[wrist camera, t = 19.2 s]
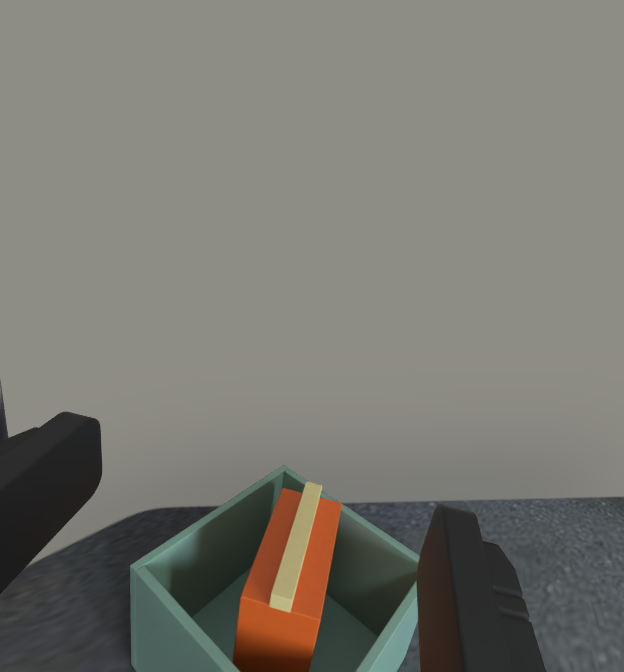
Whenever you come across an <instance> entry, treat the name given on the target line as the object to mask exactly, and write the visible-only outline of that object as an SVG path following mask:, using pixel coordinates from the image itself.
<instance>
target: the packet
mask: <svg viewBox="0 0 624 672" xmlns="http://www.w3.org/2000/svg"><path fill="white" fill-rule="evenodd" d="M321 489H322V485H318V484H314V483H311V482H306V484H305V487H304V490H303V493H301V492H297V491H293V490H289V489H285V488H282V490H281V493H280V495H279V498H278V501H277V503H276V506H275V508H274V511H273V513H272V516H271V519H270V521H269V524H268V526H267V529H266V532H265V534H264V537H263V539H262V542H261V545H260V547H259V550H258V552H257V555H256V557H255V560H254V563H253V565H252V568H251V570H250V573H249V576H248V578H247V581H246V583H245V586H244V589H243V591H242V594H241V596H240V604H239V612H238V621H237V629H236V637H235V645H234V653H233V662H232V663H233V664H234V665H235V666H236V668H237V669H238V670H239V671H240V672H309V669H310V665H311V660H312V656H313V652H314V647H315V643H316V638H317V634H318V629H319V625H320V621H321V615H322V610H323V604H324V599H325V594H326V588H327V583H328V577H329V572H330V566H331V561H332V556H333V550H334V545H335V539H336V534H337V528H338V523H339V517H340V512H341V507H342V503H339V502H335V501H331V500H328V499H324V498H320V495H321Z"/></svg>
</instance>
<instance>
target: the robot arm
mask: <svg viewBox="0 0 624 672" xmlns="http://www.w3.org/2000/svg"><path fill="white" fill-rule="evenodd" d="M101 476H102V454H101V431H100V424H99V421H98V420H97V419H95V418H91V417H87V416H83V415H78V414H74V413H70V412H62V413H60V414H58V415H56V416H55V417H54V418H52V419H51V420H49V421H48V422H47V423H45V424H44V425H43V426H41V427H40V428H37V427H35V428H32V429H30V430H27V431H25V432H22V433H20V434H17V435H15V436H12V437H10V438H8V432H7V425H6V418H5V411H4V403H3V396H2V388H1V381H0V593H1V592H2V591H3V590H4V589H5V588H6V587H7V586H8V585H9V584H10V583H11V582H12V581H13V580H14V579H15V577H16V576H17V575H18V574H19V573H20V572H21V571H22V570H23V569H24V568H25V567H26V566H27V565H28V564H29V563H30V562H31V560H32V559H33V558H34V557H35V556H36V555H37V554H38V553H39V552H40V551H41V550H42V549H43V548H44V547H45V546H46V545H47V543H48V542H49V541H50V540H51V539H52V538H53V537H54V536H55V535H56V534H57V533H58V532H59V531H60V530H61V529H62V528H63V527H64V525H65V524H66V523H67V522H68V521H69V520H70V519H71V518H72V517H73V516H74V515H75V514H76V513H77V512H78V511H79V510H80V509H81V508H82V506H83V505H84V504H85V503H86V502H87V501H88V500H89V499H90V498H91V497H92V496H93V494H94V493H95V491H96V489H97V487H98V485H99V483H100V480H101ZM416 587H417V607H418V626H419V646H420V665H421V672H546V670H545V667H544V663H543V660H542V657H541V653H540V650H539V647H538V644H537V640H536V637H535V634H534V630H533V627H532V624H531V622H529V614H528V611H527V607H526V604H525V601H524V599H522V595H523V594H522V591H521V588H520V584H519V581H518V578H517V574H516V571H515V568H514V567H513V565H512V564H511V563H510V561H509V560H508V558H507V557H506V556H505V554H504V553H503V551H502V550H501V548H500V547H499V546H498V545H497V544H493V543H489V542H485V541H482V537H481V533H480V529H479V525H478V520H477V517H476V515H475V513H473V512H470V511H466V510H462V509H458V508H454V507H450V506H446V505H441V504H438V505H437V507H436V509H435V511H434V514H433V517H432V520H431V523H430V526H429V529H428V532H427V535H426V538H425V541H424V544H423V547H422V550H421V554H420V557H419V562H418V568H417V580H416Z"/></svg>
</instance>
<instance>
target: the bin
mask: <svg viewBox="0 0 624 672" xmlns="http://www.w3.org/2000/svg"><path fill="white" fill-rule="evenodd" d="M306 482H308V481H307V480H306V479H304V478H302V477H301V476H299V475H298V474H297V473H295V472H294V471H292V470H291V469H289V468H288V467H286V466H285V465H283V466H281V467H280V468H278V469H277V470H275V471H273V472H272V473H270V474H269V475H268V476H266V477H265V478H263V479H261V480H260V481H258V482H257V483H255V484H254V485H252V486H250V487H249V488H247V489H246V490H244V491H243V492H241V493H240V494H238V495H237V496H235V497H234V498H232V499H231V500H229V501H228V502H226V503H224V504H223V505H221V506H220V507H218V508H217V509H215V510H214V511H212V512H211V513H209V514H208V515H206V516H205V517H203V518H202V519H200V520H198V521H197V522H195V523H194V524H192V525H191V526H189V527H188V528H186V529H185V530H183V531H182V532H180V533H179V534H177V535H176V536H174V537H172V538H171V539H169V540H168V541H166V542H165V543H163V544H162V545H160V546H159V547H157V548H156V549H154V550H153V551H151V552H150V553H148V554H146V555H145V556H143V557H142V558H140V559H139V560H137V561H136V562H134V563H133V564H131V565H130V599H131V665H132V666H133V668H134V669H135V670H136V672H240V671H239V670H238V669H237V668H236V666H235V665H234V664H233V663H232V662H233V653H234V645H235V637H236V629H237V621H238V612H239V604H240V596H241V594H242V591H243V589H244V586H245V583H246V581H247V578H248V576H249V573H250V570H251V568H252V565H253V563H254V560H255V557H256V555H257V552H258V550H259V547H260V545H261V542H262V539H263V537H264V534H265V532H266V529H267V526H268V524H269V521H270V519H271V516H272V513H273V511H274V508H275V506H276V503H277V501H278V498H279V495H280V493H281V490H282V488H285V489H289V490H293V491H297V492H301V493H303V490H304V487H305V484H306ZM320 498H324V499H328V500H331V501H335V502H338V501H337V500H335V499H334V498H332V497H331V496H329V495H328V494H326V493H325V492H323V491H322V490H321V495H320ZM339 503H340V502H339ZM419 557H420V556H419V555H417V554H416V553H414V552H413V551H411V550H410V549H408V548H407V547H405V546H404V545H402V544H401V543H399V542H398V541H396V540H395V539H393V538H392V537H390V536H389V535H387V534H386V533H385V532H383V531H382V530H380V529H379V528H377V527H376V526H374V525H373V524H371V523H370V522H368V521H367V520H365V519H364V518H362V517H361V516H359V515H358V514H356V513H355V512H353V511H352V510H350V509H349V508H347V507H346V506H344V505H343V504H342V507H341V512H340V517H339V523H338V528H337V534H336V539H335V545H334V550H333V556H332V561H331V566H330V572H329V577H328V583H327V588H326V594H325V599H324V604H323V610H322V615H321V621H320V625H319V629H318V634H317V638H316V643H315V647H314V652H313V656H312V660H311V665H310V669H309V672H397V670H398V668H399V666H400V665H401V663H402V661H403V659H404V658H405V655H406V652H407V650H408V647H409V644H410V641H411V638H412V635H413V632H414V630H415V627H416V624H417V621H418V607H417V587H416V580H417V568H418V562H419Z"/></svg>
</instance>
